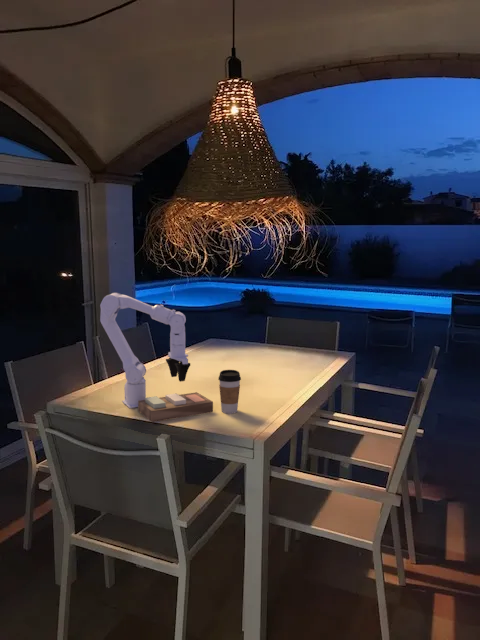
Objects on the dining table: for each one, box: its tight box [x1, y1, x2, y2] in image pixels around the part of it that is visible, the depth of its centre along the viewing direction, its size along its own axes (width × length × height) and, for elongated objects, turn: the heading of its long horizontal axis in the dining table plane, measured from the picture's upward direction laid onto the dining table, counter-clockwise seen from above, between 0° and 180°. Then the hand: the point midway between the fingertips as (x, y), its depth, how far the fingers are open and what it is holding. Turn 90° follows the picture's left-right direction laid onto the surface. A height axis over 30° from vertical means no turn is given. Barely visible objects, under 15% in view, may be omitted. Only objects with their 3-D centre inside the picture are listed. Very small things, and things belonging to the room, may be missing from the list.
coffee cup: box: [218, 369, 242, 415], centre depth 199 cm, size 8×8×15 cm
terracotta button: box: [185, 394, 206, 402], centre depth 203 cm, size 9×4×4 cm, turn 30°
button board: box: [137, 391, 214, 423], centre depth 199 cm, size 14×24×4 cm, turn 120°
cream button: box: [164, 393, 186, 406], centre depth 199 cm, size 9×4×4 cm, turn 30°
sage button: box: [145, 396, 166, 409], centre depth 195 cm, size 9×4×4 cm, turn 30°
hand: (177, 378), depth 206 cm, fingers open, 7 cm apart
